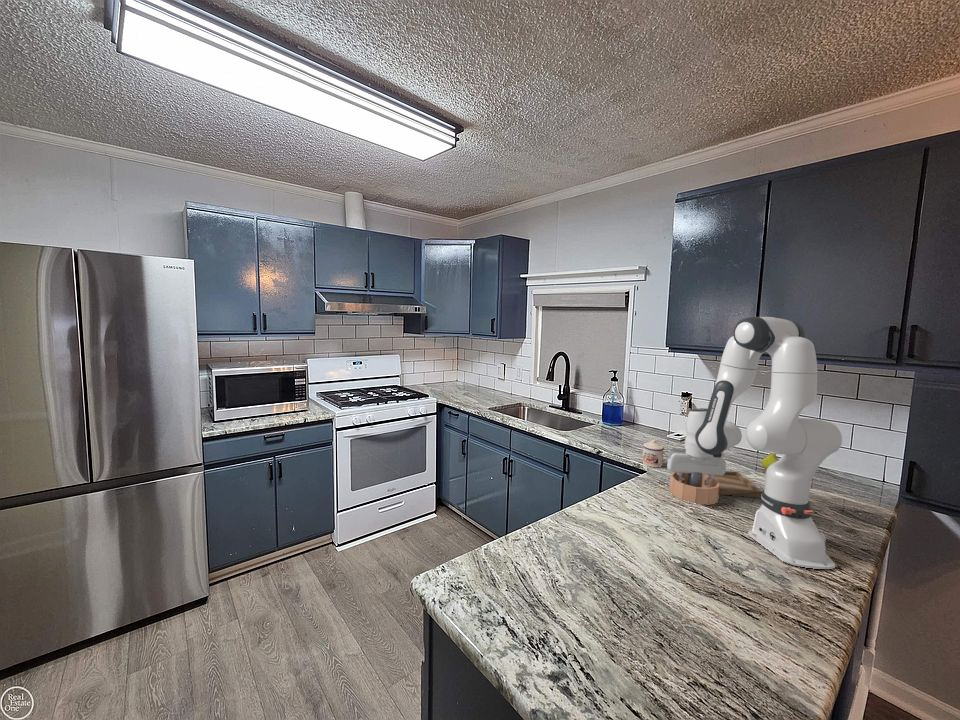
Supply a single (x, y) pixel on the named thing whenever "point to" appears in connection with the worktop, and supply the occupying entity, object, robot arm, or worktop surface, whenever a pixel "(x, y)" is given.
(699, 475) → the black canister
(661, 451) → the teacup with lid
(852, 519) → the worktop surface
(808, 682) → the worktop surface
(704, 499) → the terracotta bowl
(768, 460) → the fruit
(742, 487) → the walnut tray
